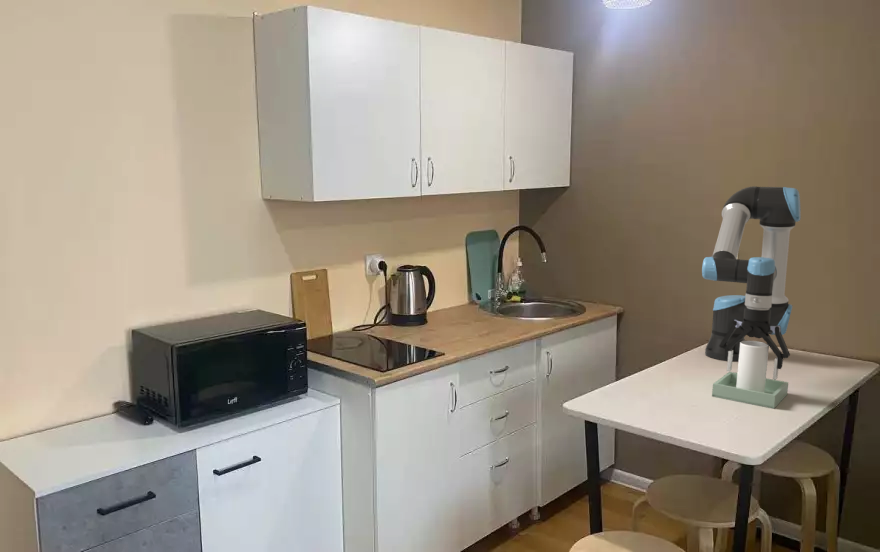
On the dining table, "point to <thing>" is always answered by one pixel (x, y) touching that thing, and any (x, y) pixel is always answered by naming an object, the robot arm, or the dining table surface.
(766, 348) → the cup
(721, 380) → the bin
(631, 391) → the dining table surface
